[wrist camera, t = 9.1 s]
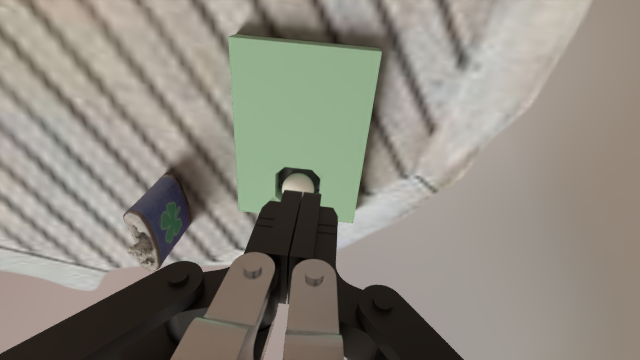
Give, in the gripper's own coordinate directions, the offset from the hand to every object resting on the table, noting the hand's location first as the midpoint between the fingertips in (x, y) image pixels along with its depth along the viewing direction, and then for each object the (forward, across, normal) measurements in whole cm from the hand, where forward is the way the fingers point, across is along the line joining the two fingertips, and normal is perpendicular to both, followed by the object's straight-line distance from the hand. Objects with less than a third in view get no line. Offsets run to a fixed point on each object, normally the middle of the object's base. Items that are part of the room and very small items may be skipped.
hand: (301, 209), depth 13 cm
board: (+25, +3, +8) cm, 26 cm away
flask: (+25, +20, +20) cm, 38 cm away
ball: (+23, +3, +14) cm, 27 cm away
